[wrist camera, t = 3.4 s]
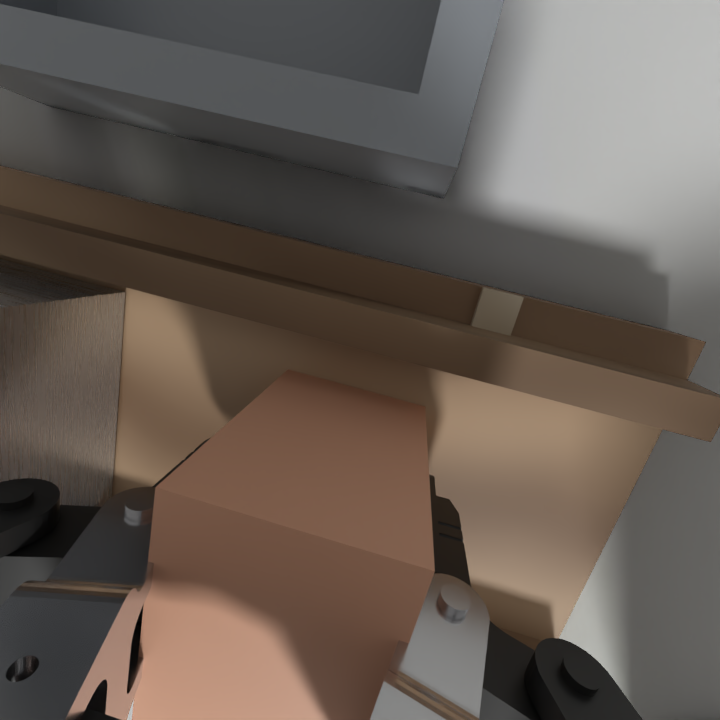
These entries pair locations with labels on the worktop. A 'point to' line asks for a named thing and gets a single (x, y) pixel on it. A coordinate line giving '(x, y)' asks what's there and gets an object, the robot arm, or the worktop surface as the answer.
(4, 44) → the tray
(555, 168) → the worktop surface
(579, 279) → the worktop surface
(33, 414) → the block
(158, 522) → the block
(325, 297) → the guide board
